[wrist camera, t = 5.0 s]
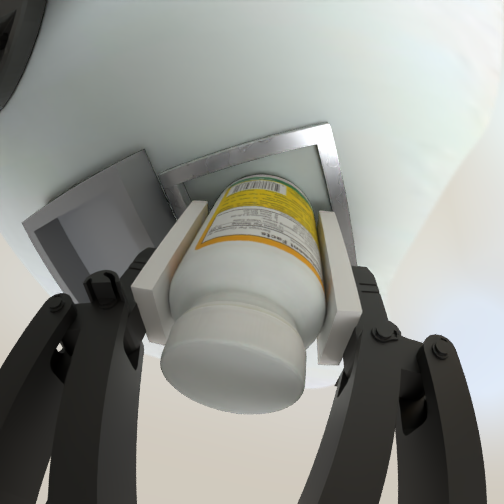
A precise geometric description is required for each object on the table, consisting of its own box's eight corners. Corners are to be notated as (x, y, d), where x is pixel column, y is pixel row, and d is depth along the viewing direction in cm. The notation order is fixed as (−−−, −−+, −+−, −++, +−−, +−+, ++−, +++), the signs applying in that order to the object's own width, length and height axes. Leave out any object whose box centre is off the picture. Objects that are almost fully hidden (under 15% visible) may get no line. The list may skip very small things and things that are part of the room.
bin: (47, 203, 16) (21, 222, 14) (144, 149, 13) (114, 164, 11) (109, 306, 21) (92, 331, 18) (211, 291, 18) (199, 324, 16)
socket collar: (164, 171, 14) (157, 175, 13) (327, 122, 12) (329, 123, 11) (221, 294, 18) (218, 303, 18) (356, 270, 16) (358, 278, 15)
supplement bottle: (264, 150, 13) (217, 275, 5) (334, 224, 14) (370, 391, 6) (195, 217, 15) (110, 362, 7) (262, 277, 17) (237, 431, 9)
